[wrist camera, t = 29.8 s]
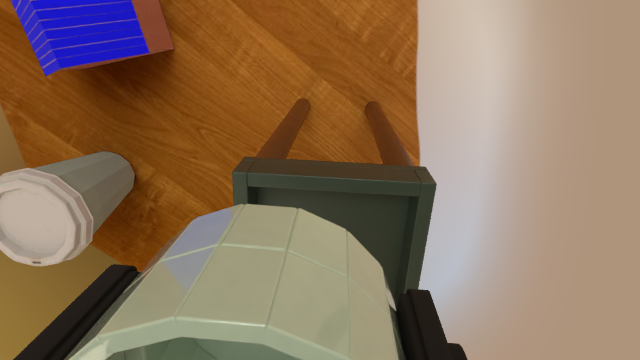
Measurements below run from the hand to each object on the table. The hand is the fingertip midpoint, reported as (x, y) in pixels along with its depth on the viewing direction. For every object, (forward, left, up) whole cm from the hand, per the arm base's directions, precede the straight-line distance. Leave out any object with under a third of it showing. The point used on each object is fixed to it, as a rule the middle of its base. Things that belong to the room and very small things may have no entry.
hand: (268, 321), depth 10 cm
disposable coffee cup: (+28, +11, -36) cm, 47 cm away
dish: (0, 0, -1) cm, 1 cm away
